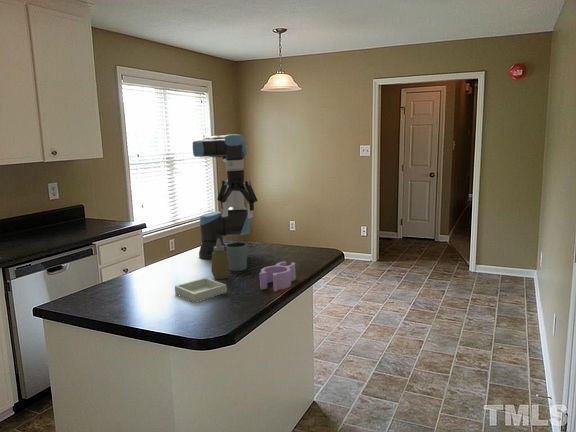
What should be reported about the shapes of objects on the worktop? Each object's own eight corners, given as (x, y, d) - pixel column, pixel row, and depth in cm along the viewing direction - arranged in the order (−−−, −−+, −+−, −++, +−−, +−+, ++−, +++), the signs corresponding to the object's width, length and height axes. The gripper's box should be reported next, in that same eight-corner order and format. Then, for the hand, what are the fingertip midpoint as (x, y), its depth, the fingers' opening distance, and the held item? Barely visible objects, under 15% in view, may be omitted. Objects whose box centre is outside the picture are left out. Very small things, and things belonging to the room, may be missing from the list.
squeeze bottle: (228, 280, 205) (226, 240, 202) (210, 280, 205) (207, 241, 202) (231, 274, 213) (228, 236, 210) (213, 275, 213) (211, 237, 210)
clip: (277, 275, 210) (277, 260, 209) (302, 278, 204) (302, 263, 203) (254, 288, 193) (253, 272, 191) (281, 292, 187) (280, 276, 186)
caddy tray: (175, 294, 189) (174, 286, 189) (206, 285, 199) (206, 277, 198) (194, 302, 178) (194, 294, 178) (226, 293, 188) (226, 284, 188)
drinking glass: (250, 265, 227) (248, 241, 225) (246, 271, 217) (244, 246, 215) (229, 265, 228) (228, 242, 226) (225, 271, 219) (223, 246, 216)
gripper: (207, 170, 207) (210, 216, 211) (254, 170, 195) (256, 220, 199) (218, 168, 214) (220, 214, 217) (263, 169, 202) (265, 217, 205)
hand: (238, 217), depth 208 cm, fingers open, 13 cm apart
